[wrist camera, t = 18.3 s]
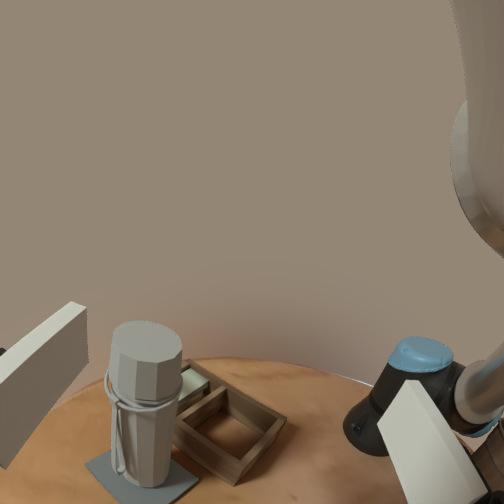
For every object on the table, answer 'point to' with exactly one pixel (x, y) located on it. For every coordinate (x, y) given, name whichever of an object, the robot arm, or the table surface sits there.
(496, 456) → the plant pot
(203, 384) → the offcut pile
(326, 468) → the table surface
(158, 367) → the water bottle
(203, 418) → the walnut divided tray
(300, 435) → the table surface
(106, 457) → the slate mat
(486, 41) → the robot arm
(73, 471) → the table surface
